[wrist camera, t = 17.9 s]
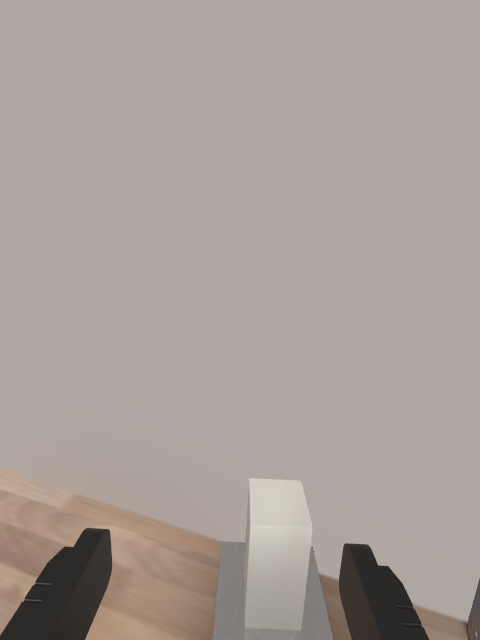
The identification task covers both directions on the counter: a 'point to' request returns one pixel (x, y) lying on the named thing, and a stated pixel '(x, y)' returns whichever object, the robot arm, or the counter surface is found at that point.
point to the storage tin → (230, 603)
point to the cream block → (276, 554)
